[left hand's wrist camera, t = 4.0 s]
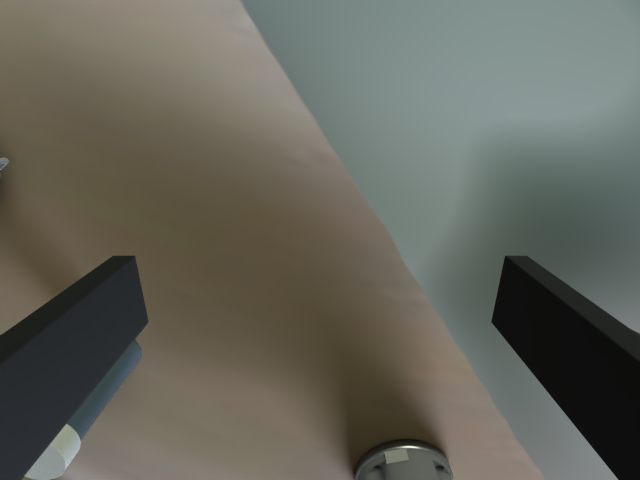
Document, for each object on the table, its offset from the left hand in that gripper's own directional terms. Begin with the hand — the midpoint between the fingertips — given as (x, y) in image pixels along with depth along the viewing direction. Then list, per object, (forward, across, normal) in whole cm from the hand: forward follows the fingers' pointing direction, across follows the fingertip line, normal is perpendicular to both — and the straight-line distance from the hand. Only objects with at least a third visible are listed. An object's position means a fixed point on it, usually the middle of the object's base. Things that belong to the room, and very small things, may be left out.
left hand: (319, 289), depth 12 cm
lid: (+12, +27, +25) cm, 39 cm away
